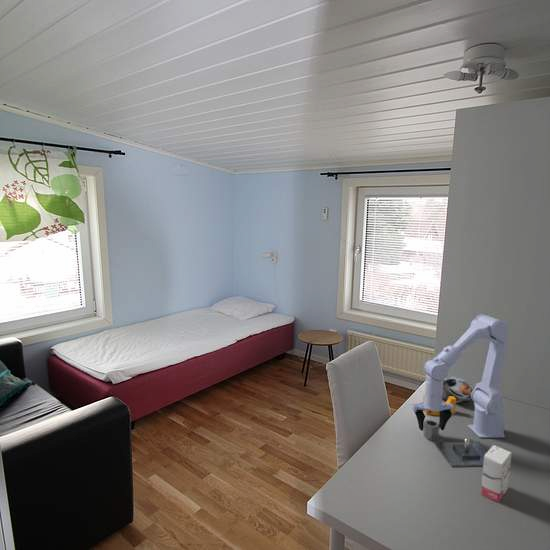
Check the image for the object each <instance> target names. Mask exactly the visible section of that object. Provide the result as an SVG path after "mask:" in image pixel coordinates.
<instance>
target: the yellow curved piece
mask: <svg viewBox="0 0 550 550" xmlns="http://www.w3.org/2000/svg"><path fill="white" fill-rule="evenodd" d="M424 401H425V394H424V395H423V402H424ZM444 403H447V404H452V405H453V406H454V411H450V412H451V413H452V415H455V414H456V409H457V408H456V406H457V405H456V404H457V402H456V398H455V397H454V396H449V398H448V400H447V401H445V402H444ZM423 412H424V415H425V416H427V415H429V416H440V414H439V411H423Z"/></svg>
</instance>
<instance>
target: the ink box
mask: <svg viewBox="0 0 550 550" xmlns="http://www.w3.org/2000/svg"><path fill="white" fill-rule="evenodd" d="M511 461H512V451H510V450H506V449H504V448H502V447H499V446H497V445H495V444H493V445H492V446H491V447H490V448H489V449H488V452H487V453H486V454H485V456H484V464H483V466H482V467H483V468H482V478H481V492H480V494H481V495H482V496H485V498H488V499H490V500H493V501H494V502H498V503H500V501H501V500H502V499H503V496H504V495H505V493H506V492H507V491H508V489H509V480H510V472H511V471H510V470H511Z"/></svg>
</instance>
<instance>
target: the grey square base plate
mask: <svg viewBox="0 0 550 550" xmlns="http://www.w3.org/2000/svg"><path fill="white" fill-rule="evenodd" d="M434 445H435V447H436V448H437V449H438V451H439V452H440V453H441V455H442V457H444V459H445V460H446V462H448V464H449V466H450V467H452V468H454V467H456V468H457V467H458V468H461V467H483V464H484V456H485V454H486V453H487V452H488V451H489V449H487V448H486V447H485V446H484V445H483V444H482V443H481V442H480V441H471V439H470V438H469V437H464V441H459V442H458V441H457V442H454V441H453V442H434Z"/></svg>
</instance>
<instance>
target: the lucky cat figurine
mask: <svg viewBox="0 0 550 550" xmlns="http://www.w3.org/2000/svg"><path fill="white" fill-rule="evenodd" d="M474 389H475V388H474ZM474 389H473V388H471V386H470V383H468V382H467V381H466V380H464V379H463V378H461V377H458V376H453V375H452V376H451V375H450V376H449V377H448V376H447V377H446V378H445V379H443V392H442V401H445V402H446V401H447V400H448V398H449V396H454V397H455V398H456V404H457V403H460V402H465V401H470V400H471V399H472V398H471V394H472V392H473V390H474Z"/></svg>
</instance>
